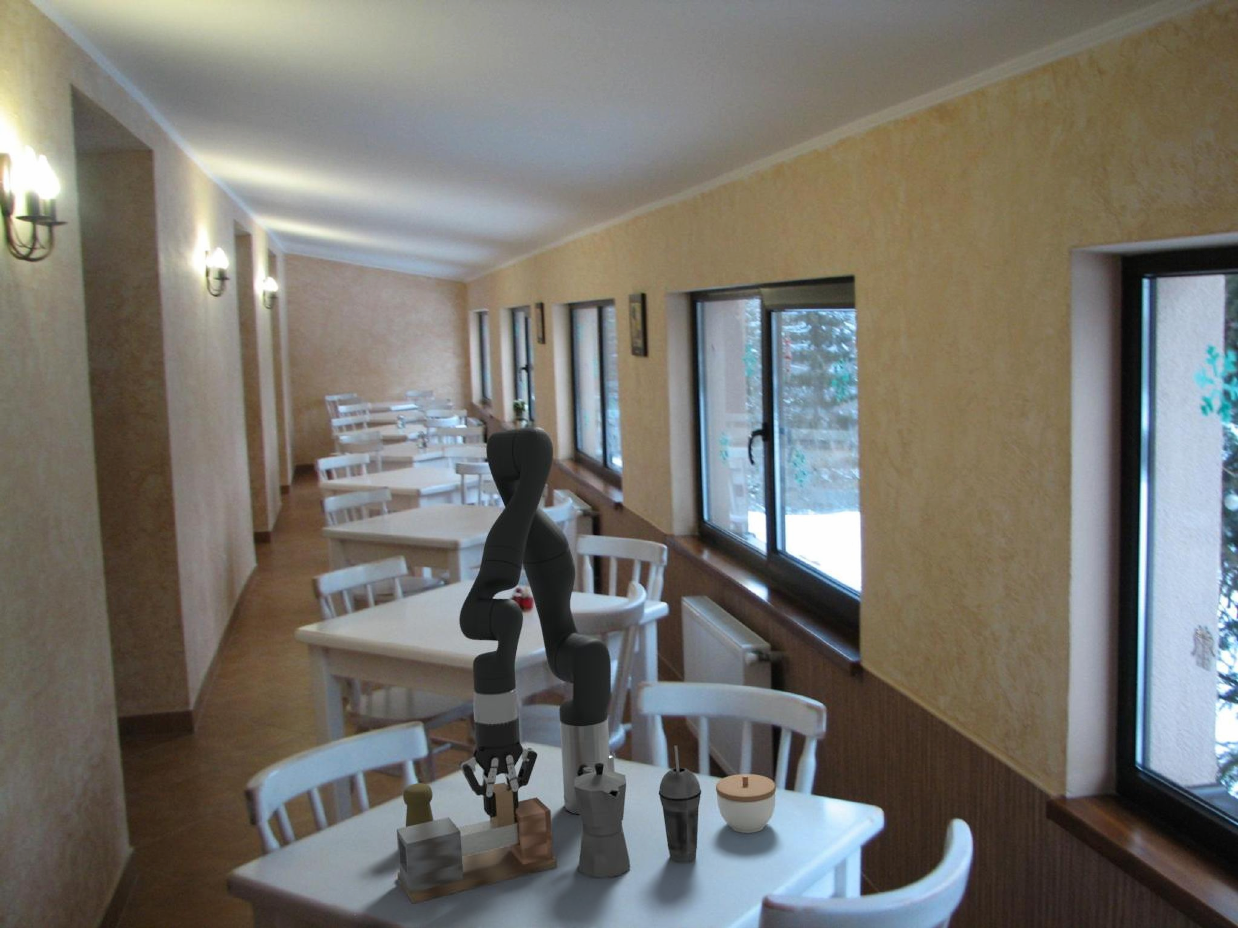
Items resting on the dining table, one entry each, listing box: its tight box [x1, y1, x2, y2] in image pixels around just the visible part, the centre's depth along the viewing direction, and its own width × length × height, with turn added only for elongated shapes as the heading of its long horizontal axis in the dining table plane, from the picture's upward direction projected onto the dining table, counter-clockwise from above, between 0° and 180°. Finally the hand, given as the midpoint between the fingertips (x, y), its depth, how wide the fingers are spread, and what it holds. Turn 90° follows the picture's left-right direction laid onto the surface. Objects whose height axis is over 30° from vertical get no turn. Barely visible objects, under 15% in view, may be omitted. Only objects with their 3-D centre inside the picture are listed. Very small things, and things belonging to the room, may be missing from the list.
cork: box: [402, 782, 435, 827], centre depth 200 cm, size 6×6×11 cm
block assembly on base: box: [396, 796, 558, 904], centre depth 188 cm, size 25×10×9 cm, turn 115°
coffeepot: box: [574, 763, 631, 879], centre depth 188 cm, size 15×9×18 cm, turn 25°
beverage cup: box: [658, 745, 702, 864], centre depth 189 cm, size 7×7×20 cm
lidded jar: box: [715, 773, 777, 834], centre depth 201 cm, size 11×11×9 cm
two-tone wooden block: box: [457, 781, 520, 857], centre depth 188 cm, size 17×4×10 cm, turn 115°
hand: (501, 812), depth 189 cm, fingers closed on two-tone wooden block, 3 cm apart
